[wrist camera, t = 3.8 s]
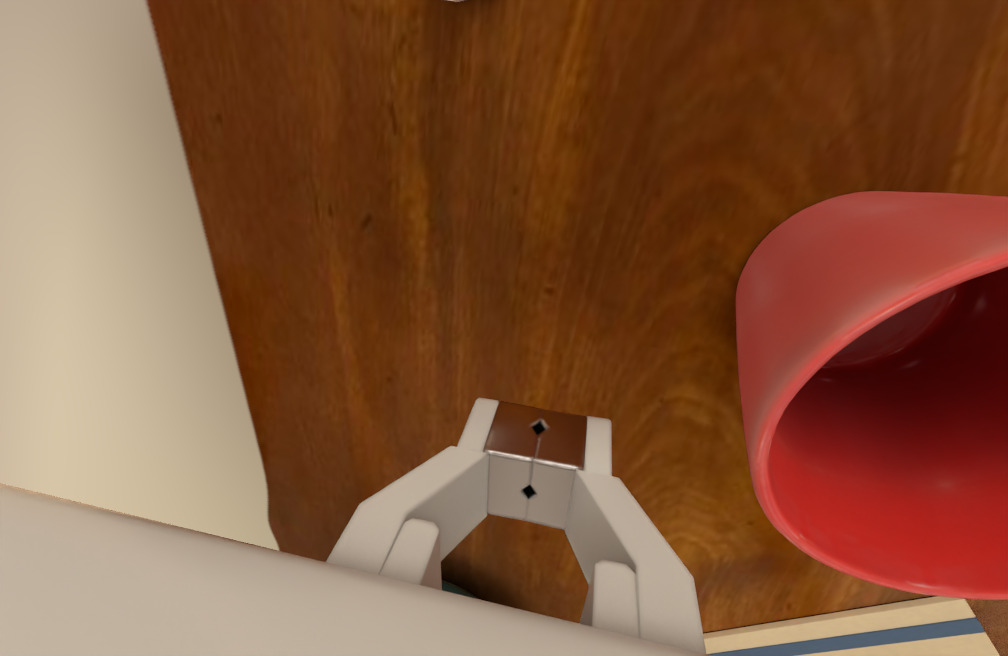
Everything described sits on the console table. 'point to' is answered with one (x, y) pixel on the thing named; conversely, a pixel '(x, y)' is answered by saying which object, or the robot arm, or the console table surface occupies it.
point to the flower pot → (883, 387)
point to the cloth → (864, 633)
